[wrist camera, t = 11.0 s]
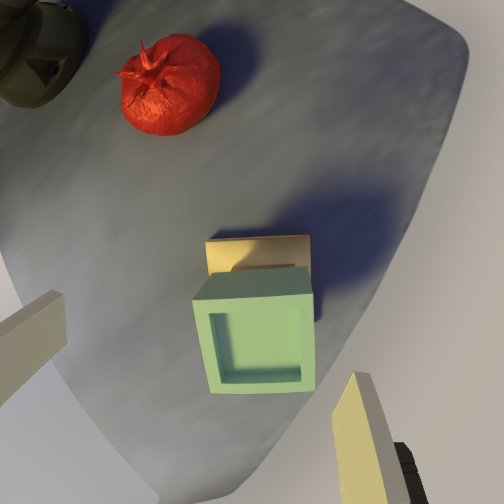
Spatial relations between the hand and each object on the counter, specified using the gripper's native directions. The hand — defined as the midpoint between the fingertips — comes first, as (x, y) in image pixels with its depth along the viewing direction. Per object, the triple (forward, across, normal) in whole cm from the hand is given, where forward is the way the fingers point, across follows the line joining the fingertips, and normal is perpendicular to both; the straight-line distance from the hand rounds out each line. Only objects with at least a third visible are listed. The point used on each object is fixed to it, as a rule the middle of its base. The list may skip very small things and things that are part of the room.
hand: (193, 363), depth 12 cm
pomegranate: (+21, -10, +14) cm, 27 cm away
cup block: (+14, +3, -4) cm, 15 cm away
